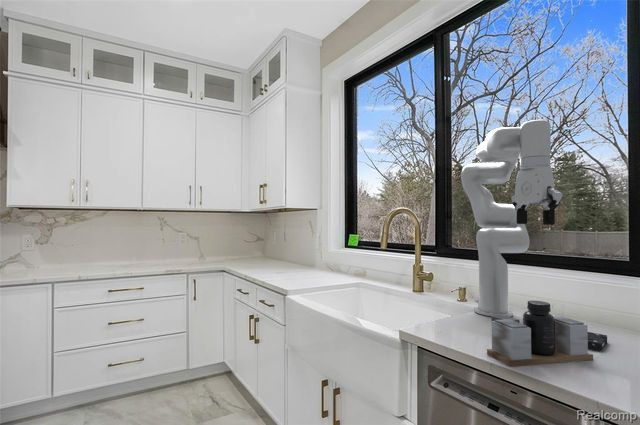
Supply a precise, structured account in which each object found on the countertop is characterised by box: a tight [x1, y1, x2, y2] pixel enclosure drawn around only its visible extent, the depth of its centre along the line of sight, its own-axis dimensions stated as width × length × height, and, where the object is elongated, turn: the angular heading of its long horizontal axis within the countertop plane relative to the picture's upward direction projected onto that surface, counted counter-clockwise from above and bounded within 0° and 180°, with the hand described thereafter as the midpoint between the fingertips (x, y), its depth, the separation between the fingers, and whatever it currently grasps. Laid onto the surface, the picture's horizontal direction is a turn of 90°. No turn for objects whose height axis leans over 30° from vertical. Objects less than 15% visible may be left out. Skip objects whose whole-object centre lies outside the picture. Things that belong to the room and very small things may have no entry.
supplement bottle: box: [522, 300, 555, 356], centre depth 87 cm, size 7×7×12 cm
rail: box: [486, 316, 594, 367], centre depth 87 cm, size 8×23×9 cm, turn 102°
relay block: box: [491, 315, 520, 323], centre depth 105 cm, size 6×4×5 cm, turn 32°
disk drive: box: [588, 331, 608, 352], centre depth 100 cm, size 10×3×15 cm
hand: (534, 224), depth 102 cm, fingers open, 9 cm apart
